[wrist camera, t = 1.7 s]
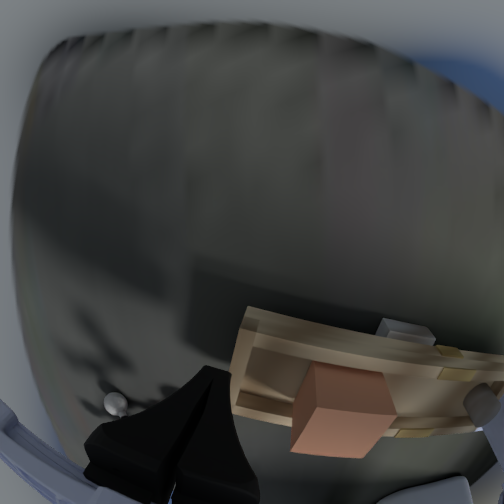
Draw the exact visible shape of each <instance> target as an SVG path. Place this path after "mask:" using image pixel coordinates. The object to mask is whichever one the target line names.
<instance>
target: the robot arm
mask: <svg viewBox="0 0 504 504" xmlns="http://www.w3.org/2000/svg"><path fill="white" fill-rule="evenodd" d="M231 377H232V374H231V373H230V372H228V371H224V370H221V369H217V368H214V367H211V366H207V365H205V366H203V367H202V369H201V370H200V371H199V372H198V373H197V374H196V375H195V376H194V377H193V378H192V379H191V380H190V381H189V382H187V383H186V384H185V385H184V386H183V387H182V388H180V389H179V390H178V391H176V392H175V393H174V394H172V395H171V396H169V397H168V398H166V399H165V400H163V401H162V402H160V403H158V404H156V405H154V406H153V407H151V408H148V409H146V410H144V411H142V412H140V413H137V414H135V415H132V416H129V417H126V418H123V419H120V420H116V421H111V422H107V423H102V424H101V425H100V426H98V427H97V428H96V429H95V430H94V431H93V432H92V434H91V435H90V436H89V438H88V439H87V440H86V442H85V443H84V447H85V451H86V453H87V455H88V457H89V460H90V463H89V464H88V466H87V467H86V469H84V468H82V467H80V466H79V465H77V464H76V463H74V462H72V461H71V460H69V459H68V458H66V457H65V456H63V455H62V454H60V453H59V452H57V451H56V450H54V449H53V448H52V447H50V446H49V445H48V444H46V443H45V442H44V441H42V440H41V439H39V438H38V437H37V436H36V435H34V434H33V433H32V432H31V431H29V430H28V429H27V428H26V427H25V426H23V425H22V424H21V423H20V422H19V421H18V419H17V416H16V415H15V413H14V412H13V411H12V410H11V409H10V408H9V407H8V406H7V405H6V404H5V403H4V402H3V401H2V400H1V399H0V458H1V459H2V460H3V461H4V462H5V463H6V464H7V465H8V466H9V467H10V468H11V469H12V470H13V471H14V472H15V473H16V474H17V475H19V476H20V477H21V478H22V479H23V480H24V481H25V482H27V483H28V484H29V485H30V486H31V487H32V488H34V489H35V490H36V491H37V492H38V493H40V494H41V495H42V496H44V497H45V498H46V499H47V500H49V501H50V502H52V503H53V504H168V502H169V499H170V496H171V493H172V491H173V488H174V485H175V482H176V487H175V489H174V491H173V494H172V496H171V499H172V504H259V501H260V490H259V484H258V480H257V477H256V475H255V473H254V472H253V470H252V468H251V466H250V465H249V463H248V461H247V459H246V457H245V454H244V452H243V449H242V447H241V444H240V442H239V439H238V436H237V433H236V429H235V425H234V421H233V415H232V409H231V400H230V382H231ZM499 402H500V403H501V409H500V411H499V412H498V414H497V415H496V416H495V417H494V418H493V419H492V420H491V421H490V422H489V423H487V424H486V425H484V426H482V427H479V428H477V429H476V430H475V431H482V430H483V431H484V433H485V435H486V437H487V439H488V441H489V443H490V445H491V447H492V449H493V451H494V453H495V455H496V457H497V459H498V461H499V464H500V466H501V468H502V470H503V472H504V394H503V395H502V397H501V398H500V400H499ZM502 488H503V492H502V493H501V495H500V497H499V501H498V504H504V483H503V484H502Z"/></svg>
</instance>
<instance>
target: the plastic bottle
mask: <svg viewBox="0 0 504 504" xmlns="http://www.w3.org/2000/svg"><path fill="white" fill-rule="evenodd" d="M377 504H473V501H472V497H471V493H470V488H469V484H468V480H467V479H466V478H465V477H463V476H455V477H451V478H447V479H444V480H440V481H437V482H433V483H429V484H424V485H420V486H415V487H411V488H407V489H403V490H400V491H398V492H395V493H393V494H390V495H388V496H387V497H385V498H383V499H381V500H380V501H379V502H378V503H377Z"/></svg>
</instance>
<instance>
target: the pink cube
mask: <svg viewBox="0 0 504 504" xmlns="http://www.w3.org/2000/svg"><path fill="white" fill-rule="evenodd" d="M397 416H398V415H397V412H396V409H395V406H394V403H393V400H392V397H391V394H390V392H389V389H388V386H387V383H386V381H385V378H384V375H383V372H377V371H370V370H364V369H358V368H352V367H346V366H340V365H335V364H330V363H324V362H319V361H314V360H312V362H311V365H310V367H309V369H308V371H307V374H306V376H305V378H304V380H303V383H302V385H301V387H300V389H299V391H298V393H297V396H296V398H295V400H294V402H293V413H292V431H291V446H290V452H297V453H304V454H312V455H321V456H332V457H346V458H363V457H364V456H365V455H366V454H367V453H368V451H369V450H370V449H371V448H372V447H373V446H374V445H375V443H376V442H377V441H378V440H379V439H380V437H381V436H382V435H383V434H384V433H385V431H386V430H387V429H388V428H389V426H390V425H391V424H392V422H393V421H394V420H395V418H396V417H397Z"/></svg>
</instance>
